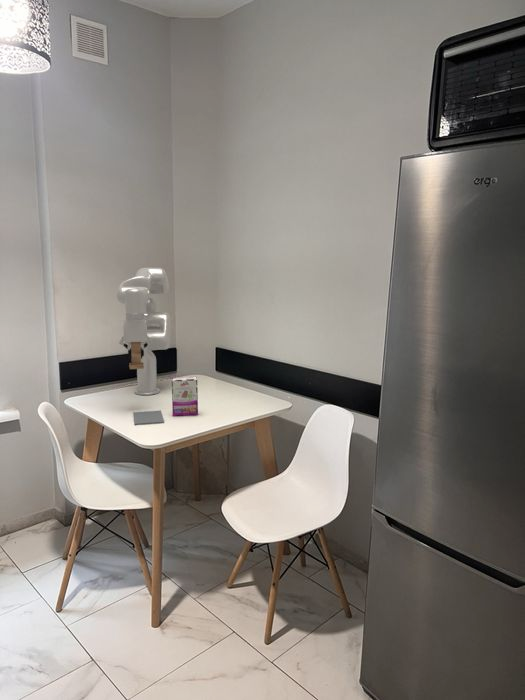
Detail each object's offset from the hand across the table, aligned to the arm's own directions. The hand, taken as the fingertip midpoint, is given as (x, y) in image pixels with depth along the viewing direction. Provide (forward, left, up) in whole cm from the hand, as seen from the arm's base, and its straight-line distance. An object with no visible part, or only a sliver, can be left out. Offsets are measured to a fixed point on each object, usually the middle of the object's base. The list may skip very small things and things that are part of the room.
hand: (136, 357), depth 225 cm
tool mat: (+12, +4, -24) cm, 27 cm away
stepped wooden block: (0, 0, -4) cm, 4 cm away
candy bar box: (+10, +20, -24) cm, 33 cm away
